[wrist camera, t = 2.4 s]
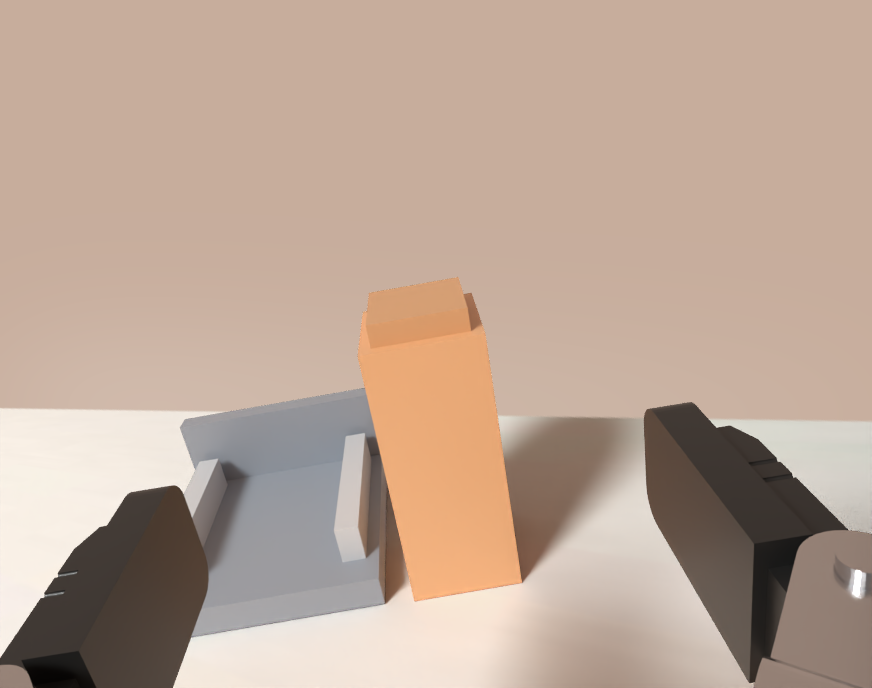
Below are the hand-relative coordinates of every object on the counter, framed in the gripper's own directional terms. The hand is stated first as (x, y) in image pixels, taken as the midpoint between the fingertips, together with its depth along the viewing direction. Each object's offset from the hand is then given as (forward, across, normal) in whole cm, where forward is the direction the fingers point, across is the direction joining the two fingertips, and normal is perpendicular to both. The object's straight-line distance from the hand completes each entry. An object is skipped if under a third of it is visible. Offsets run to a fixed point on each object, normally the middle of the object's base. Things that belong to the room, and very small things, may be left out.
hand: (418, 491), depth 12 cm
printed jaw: (+12, 0, +11) cm, 16 cm away
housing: (+14, +7, +11) cm, 19 cm away
